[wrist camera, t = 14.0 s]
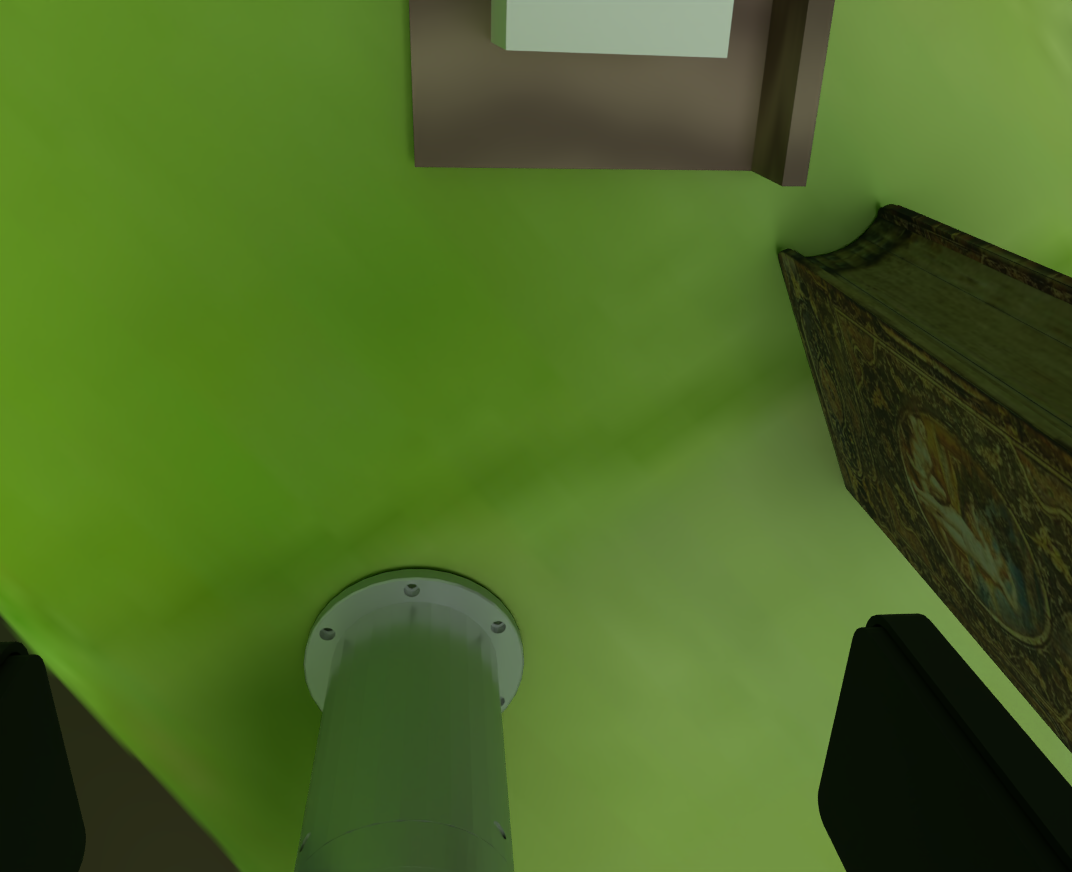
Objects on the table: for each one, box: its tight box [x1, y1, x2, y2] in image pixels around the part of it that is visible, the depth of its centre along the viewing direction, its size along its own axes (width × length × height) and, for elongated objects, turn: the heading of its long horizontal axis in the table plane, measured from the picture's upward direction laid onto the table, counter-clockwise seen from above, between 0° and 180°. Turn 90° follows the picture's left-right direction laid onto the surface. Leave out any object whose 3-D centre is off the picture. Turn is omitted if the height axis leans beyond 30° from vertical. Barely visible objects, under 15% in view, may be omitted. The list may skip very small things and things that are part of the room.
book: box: [778, 204, 1072, 753], centre depth 34 cm, size 16×6×25 cm, turn 23°
